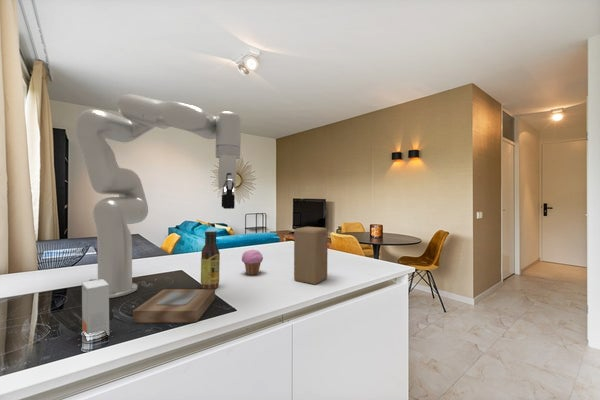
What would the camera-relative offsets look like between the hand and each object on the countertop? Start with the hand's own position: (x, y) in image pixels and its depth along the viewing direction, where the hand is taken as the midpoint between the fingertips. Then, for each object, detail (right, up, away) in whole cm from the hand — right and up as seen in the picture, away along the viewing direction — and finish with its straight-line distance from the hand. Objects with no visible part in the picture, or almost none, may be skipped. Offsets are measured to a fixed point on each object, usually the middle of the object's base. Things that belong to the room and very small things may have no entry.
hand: (227, 207), depth 86 cm
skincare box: (-25, -29, -22) cm, 44 cm away
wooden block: (+27, -29, +20) cm, 44 cm away
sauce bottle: (-9, -29, +11) cm, 32 cm away
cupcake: (+3, -28, +28) cm, 40 cm away
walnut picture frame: (-12, -29, -8) cm, 32 cm away
